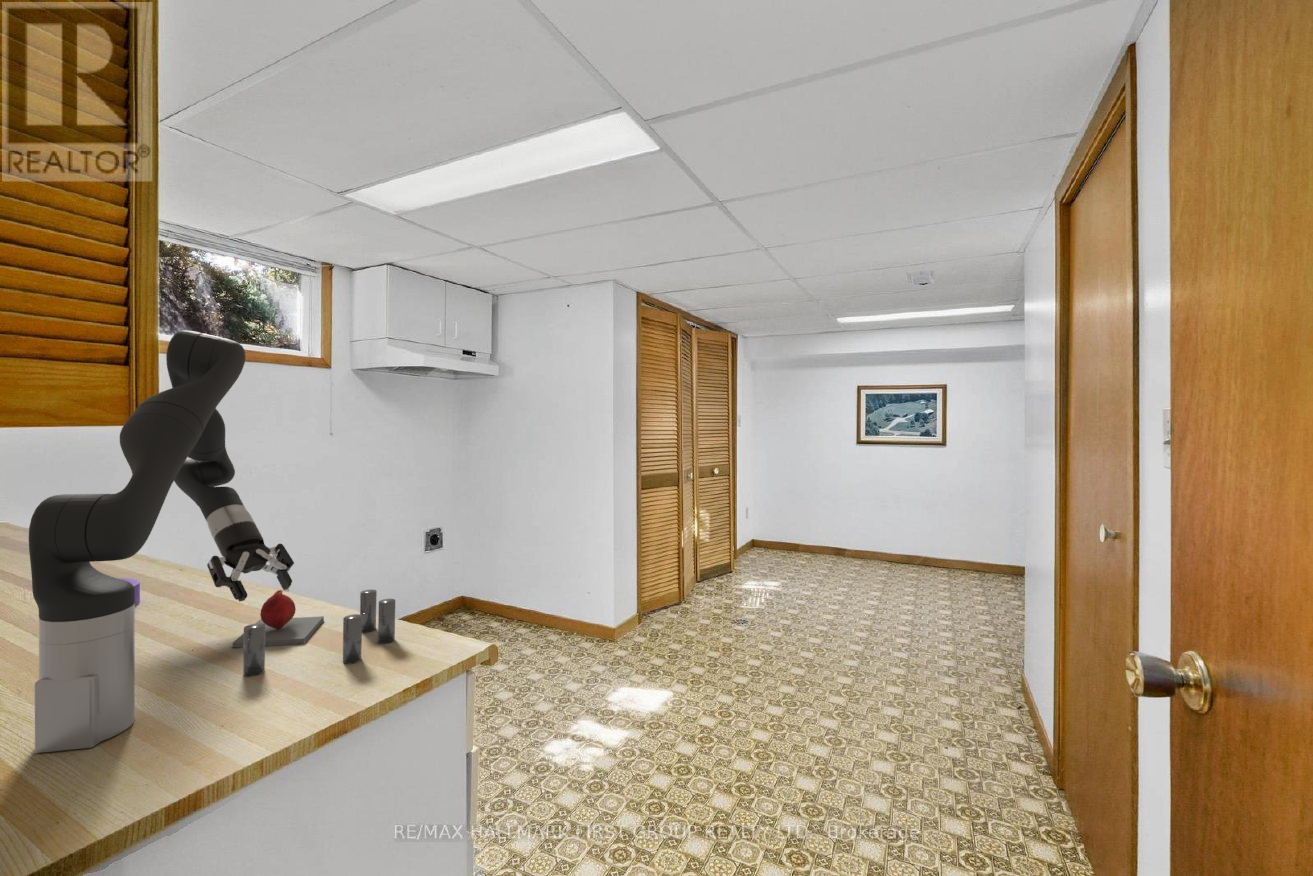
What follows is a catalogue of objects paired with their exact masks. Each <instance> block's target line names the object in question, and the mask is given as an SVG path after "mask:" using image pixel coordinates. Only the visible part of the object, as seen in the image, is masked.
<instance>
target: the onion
mask: <svg viewBox="0 0 1313 876" xmlns="http://www.w3.org/2000/svg"><path fill="white" fill-rule="evenodd" d="M283 591H284V590H283V589H277V590H276V591H275V592H274V594H272V596H270V597H268V599H266V600H265V601H264V603H263V604H262V605H261V606H262V607H261V610H260V620H262V621H263V623H265V624H266V625H268V626H269V627H272V628H275V629H281V628H282V627H283V626H284V625H285V624H287V623H288V622H289V621H290V620H291V619H292V618H294V617H295V615H296V614H295V613H296V603H295V602H294V600H293V599H292V598H291V597H290V596H288V595H286V594H284V592H283Z"/></svg>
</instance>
